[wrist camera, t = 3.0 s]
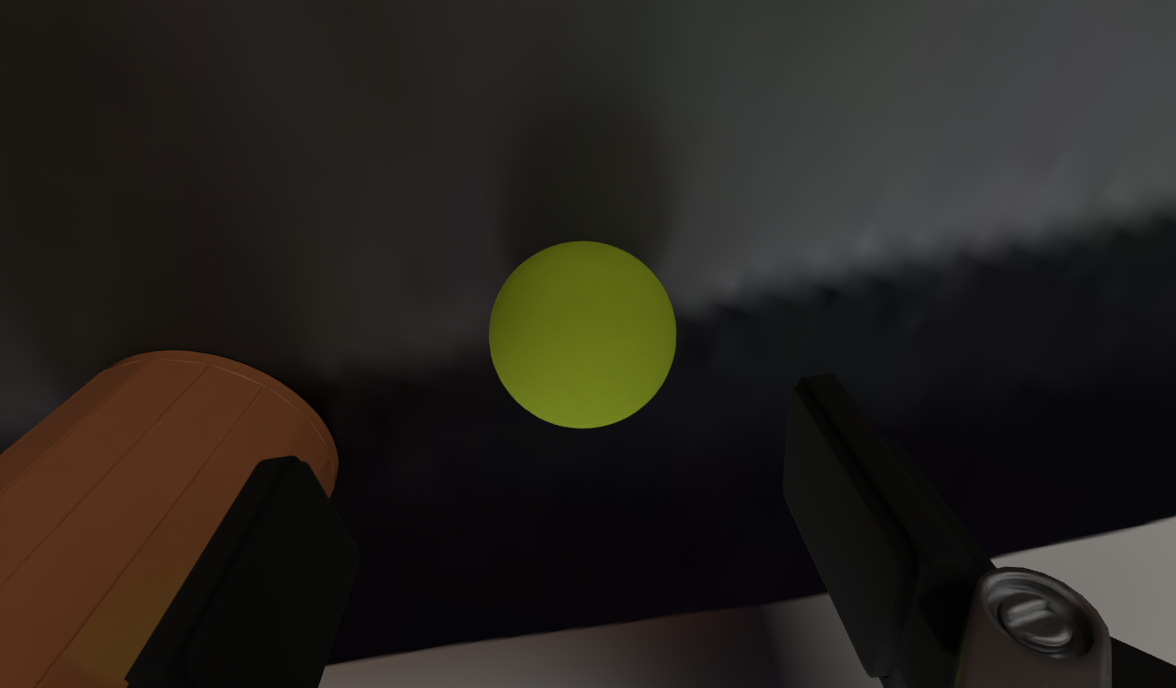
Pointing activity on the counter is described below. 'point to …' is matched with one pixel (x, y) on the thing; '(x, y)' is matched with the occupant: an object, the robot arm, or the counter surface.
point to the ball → (582, 334)
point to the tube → (130, 505)
